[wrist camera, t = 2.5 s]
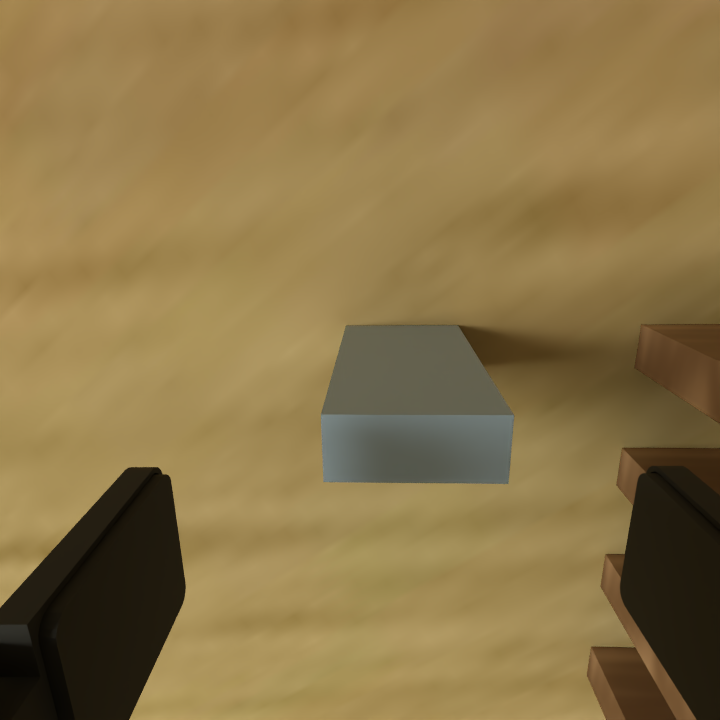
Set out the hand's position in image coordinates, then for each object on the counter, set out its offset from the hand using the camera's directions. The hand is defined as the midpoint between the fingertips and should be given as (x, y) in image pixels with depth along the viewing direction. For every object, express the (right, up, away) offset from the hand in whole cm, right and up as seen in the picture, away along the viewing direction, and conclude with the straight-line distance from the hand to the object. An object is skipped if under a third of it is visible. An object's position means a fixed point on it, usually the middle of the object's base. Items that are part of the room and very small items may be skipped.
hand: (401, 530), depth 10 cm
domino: (+1, +4, +13) cm, 14 cm away
